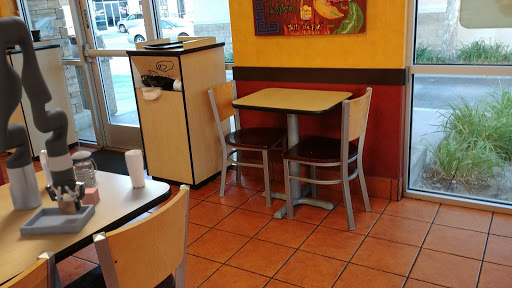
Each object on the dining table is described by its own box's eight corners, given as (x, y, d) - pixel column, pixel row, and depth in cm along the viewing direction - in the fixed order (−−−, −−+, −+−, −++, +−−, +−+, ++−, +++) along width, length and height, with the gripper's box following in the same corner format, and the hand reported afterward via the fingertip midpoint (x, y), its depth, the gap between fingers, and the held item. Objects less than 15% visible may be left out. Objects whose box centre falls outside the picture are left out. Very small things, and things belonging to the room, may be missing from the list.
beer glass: (47, 182, 204) (39, 150, 199) (63, 179, 205) (56, 148, 201) (45, 188, 197) (37, 155, 193) (62, 185, 199) (55, 152, 194)
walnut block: (61, 215, 161) (58, 202, 160) (67, 209, 166) (64, 196, 165) (75, 214, 161) (72, 201, 160) (80, 208, 166) (78, 195, 164)
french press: (87, 179, 203) (76, 125, 196) (107, 182, 198) (96, 127, 190) (70, 188, 195) (58, 132, 187) (90, 191, 190) (78, 133, 182)
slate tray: (21, 236, 156) (19, 228, 155) (43, 214, 171) (41, 207, 170) (78, 233, 155) (76, 225, 154) (95, 211, 170) (93, 204, 169)
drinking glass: (142, 189, 188) (137, 154, 183) (127, 189, 189) (121, 155, 185) (149, 182, 194) (144, 149, 189) (134, 182, 195) (129, 149, 191)
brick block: (82, 205, 177) (80, 193, 175) (87, 200, 182) (85, 188, 180) (95, 204, 177) (92, 193, 175) (99, 199, 181) (97, 187, 180)
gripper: (35, 171, 155) (46, 216, 160) (76, 169, 154) (86, 214, 160) (46, 163, 162) (56, 207, 168) (85, 161, 162) (94, 205, 167)
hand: (70, 210), depth 164 cm, fingers closed on walnut block, 4 cm apart
